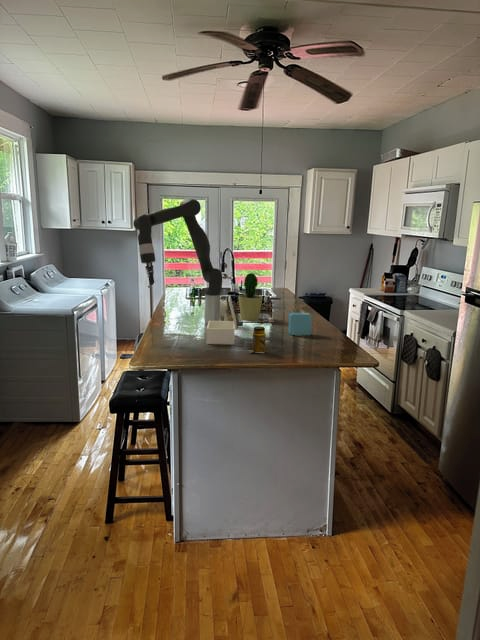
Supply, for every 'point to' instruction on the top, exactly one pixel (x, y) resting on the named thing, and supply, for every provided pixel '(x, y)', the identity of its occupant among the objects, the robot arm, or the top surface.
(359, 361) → the top surface
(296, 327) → the data package
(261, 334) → the condiment
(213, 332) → the box
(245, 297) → the potted cactus
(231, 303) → the lid
